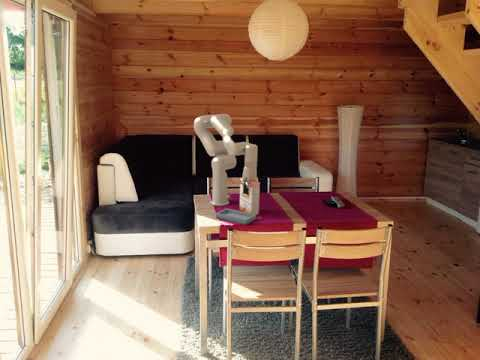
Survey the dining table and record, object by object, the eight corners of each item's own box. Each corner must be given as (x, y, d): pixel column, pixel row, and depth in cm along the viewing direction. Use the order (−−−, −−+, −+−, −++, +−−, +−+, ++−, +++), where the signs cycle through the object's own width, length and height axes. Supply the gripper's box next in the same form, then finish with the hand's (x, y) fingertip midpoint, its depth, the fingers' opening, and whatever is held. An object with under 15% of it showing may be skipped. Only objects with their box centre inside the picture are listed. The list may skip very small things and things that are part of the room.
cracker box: (238, 209, 286) (239, 177, 281) (246, 208, 289) (248, 176, 284) (250, 216, 275) (252, 182, 270) (258, 214, 278) (260, 181, 273)
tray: (226, 213, 279) (226, 208, 278) (255, 219, 269) (255, 214, 268) (215, 218, 269) (215, 213, 269) (245, 224, 259) (246, 219, 259)
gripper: (252, 161, 284) (250, 188, 288) (237, 166, 269) (236, 194, 274) (262, 163, 280) (261, 190, 285) (248, 168, 266) (247, 196, 270)
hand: (249, 192), depth 279 cm, fingers open, 8 cm apart
